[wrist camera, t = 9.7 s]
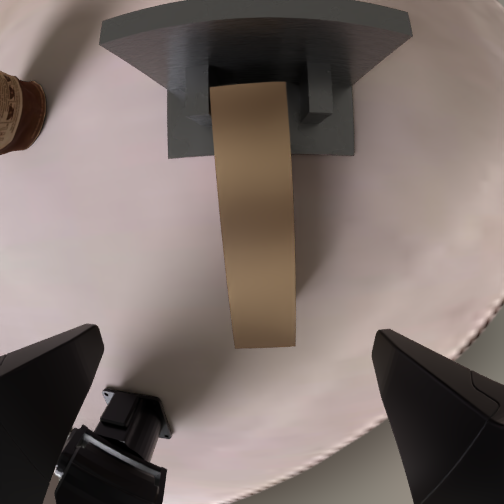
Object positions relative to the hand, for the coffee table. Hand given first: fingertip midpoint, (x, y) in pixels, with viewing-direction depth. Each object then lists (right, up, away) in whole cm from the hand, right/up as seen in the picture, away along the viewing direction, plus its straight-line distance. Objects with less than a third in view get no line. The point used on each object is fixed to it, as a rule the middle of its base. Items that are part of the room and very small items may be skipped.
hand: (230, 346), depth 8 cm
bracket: (+1, +12, +9) cm, 15 cm away
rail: (+1, +6, +10) cm, 12 cm away
